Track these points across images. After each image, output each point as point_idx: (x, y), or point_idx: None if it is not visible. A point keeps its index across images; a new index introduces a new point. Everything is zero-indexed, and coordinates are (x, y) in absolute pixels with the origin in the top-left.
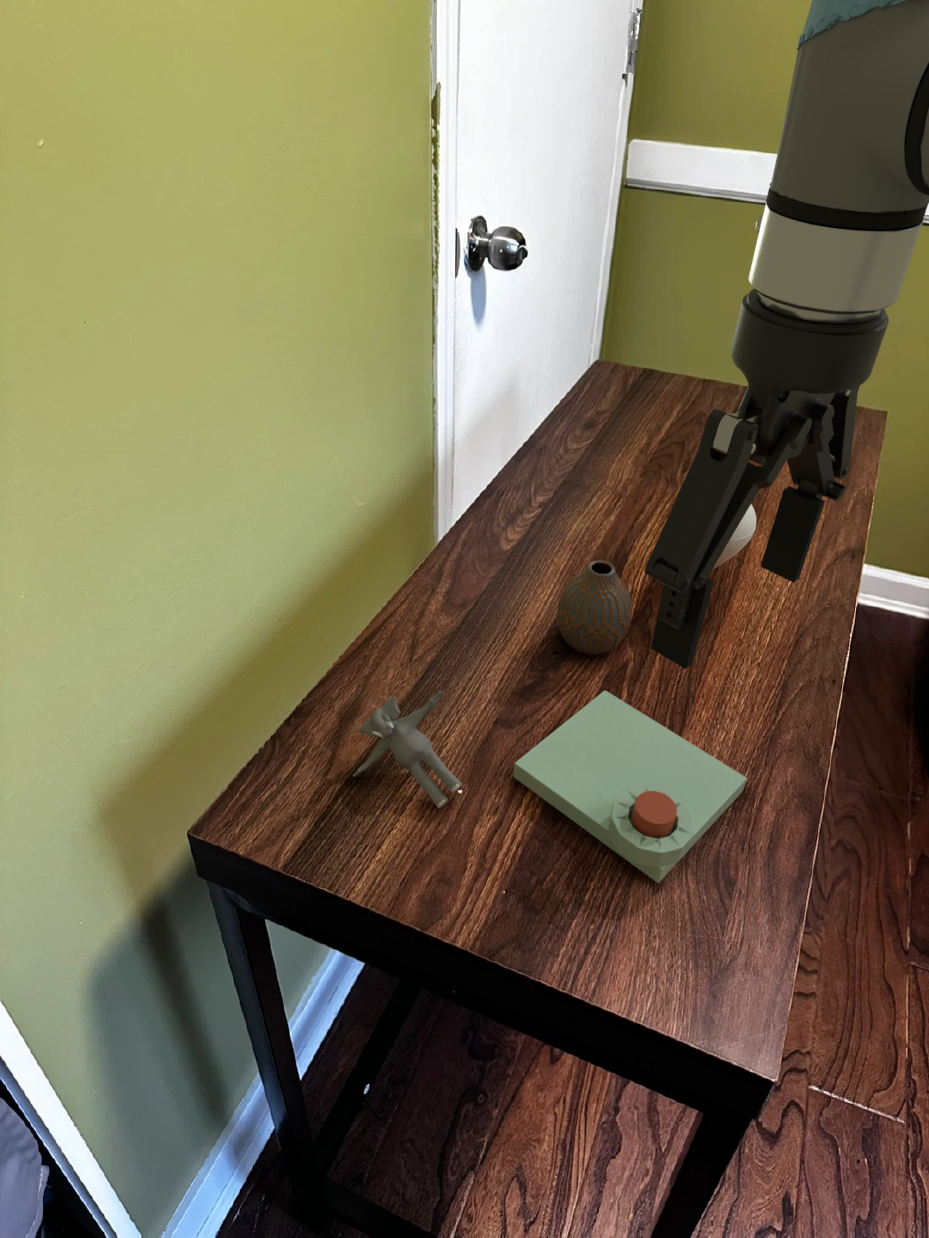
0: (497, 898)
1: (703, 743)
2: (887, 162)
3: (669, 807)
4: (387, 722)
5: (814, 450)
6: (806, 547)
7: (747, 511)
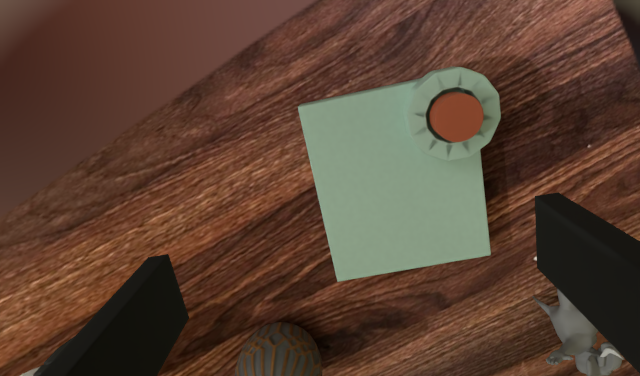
0: (599, 143)
1: (284, 175)
2: None
3: (447, 109)
4: (619, 356)
5: None
6: (122, 301)
7: None
